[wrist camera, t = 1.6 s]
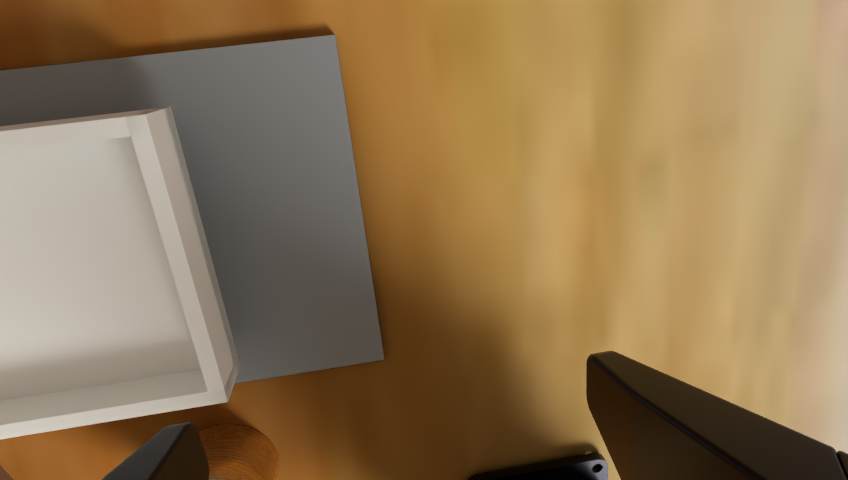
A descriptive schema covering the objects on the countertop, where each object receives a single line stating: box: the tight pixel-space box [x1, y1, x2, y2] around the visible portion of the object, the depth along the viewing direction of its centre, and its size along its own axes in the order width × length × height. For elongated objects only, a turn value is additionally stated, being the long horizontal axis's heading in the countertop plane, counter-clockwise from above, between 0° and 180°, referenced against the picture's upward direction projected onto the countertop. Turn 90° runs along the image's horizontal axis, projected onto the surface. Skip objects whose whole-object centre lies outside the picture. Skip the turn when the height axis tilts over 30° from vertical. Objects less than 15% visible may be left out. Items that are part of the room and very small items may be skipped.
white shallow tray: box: [0, 107, 241, 439], centre depth 16 cm, size 12×9×3 cm
